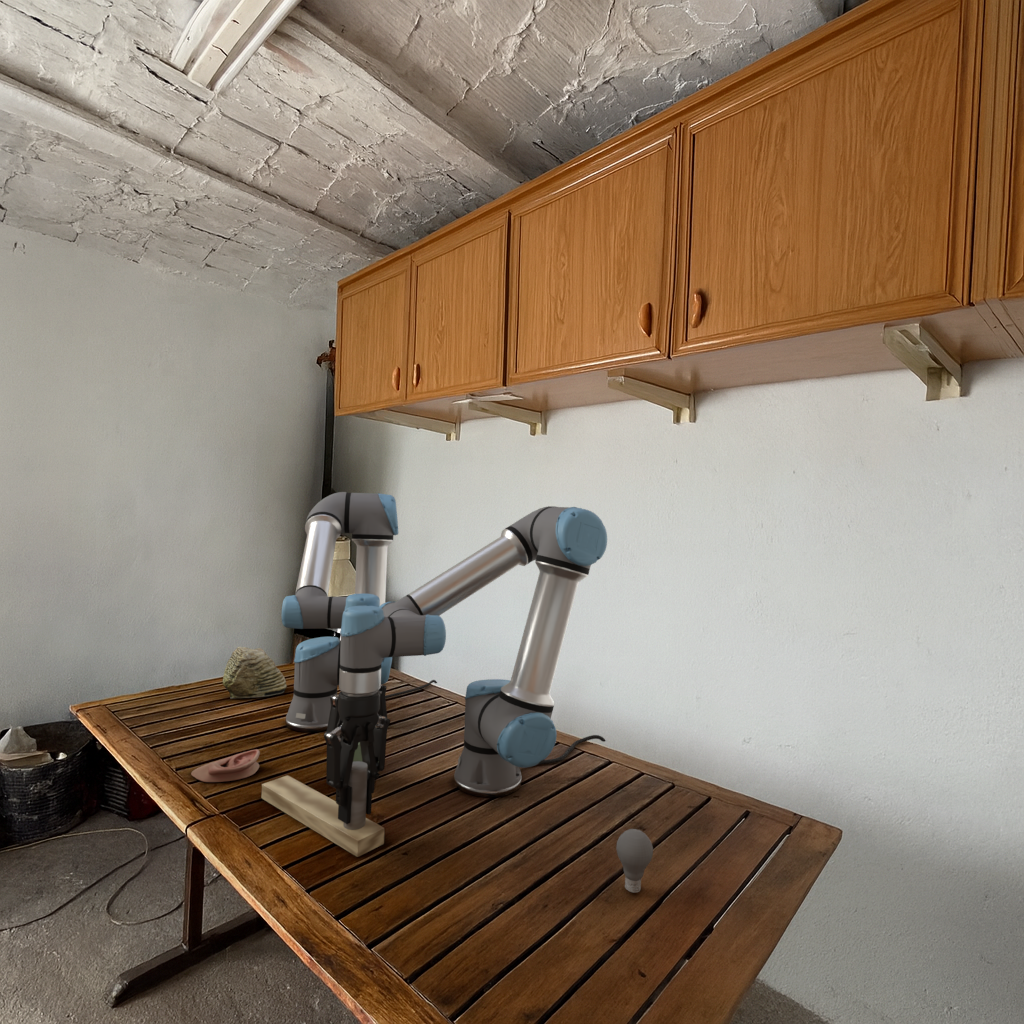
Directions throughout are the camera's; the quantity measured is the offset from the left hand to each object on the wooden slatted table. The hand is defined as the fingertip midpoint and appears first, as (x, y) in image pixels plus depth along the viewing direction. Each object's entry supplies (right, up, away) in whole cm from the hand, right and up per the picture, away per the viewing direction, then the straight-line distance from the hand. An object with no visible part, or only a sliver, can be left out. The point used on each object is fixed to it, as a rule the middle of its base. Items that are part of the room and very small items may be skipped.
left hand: (356, 765), depth 141 cm
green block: (0, -2, 0) cm, 2 cm away
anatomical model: (-30, -2, +2) cm, 30 cm away
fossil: (-46, -1, +57) cm, 73 cm away
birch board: (-3, -4, -17) cm, 17 cm away
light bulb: (+55, -7, -35) cm, 66 cm away
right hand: (+6, 0, -24) cm, 24 cm away
